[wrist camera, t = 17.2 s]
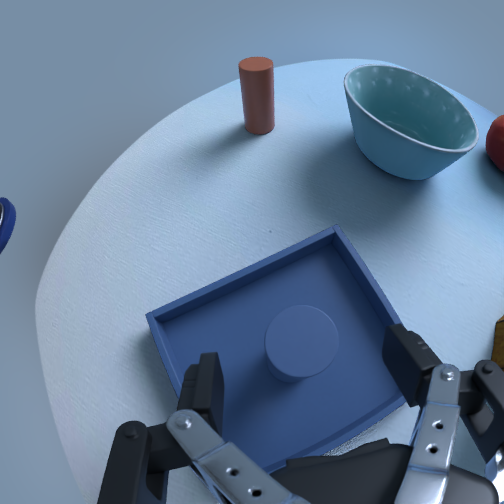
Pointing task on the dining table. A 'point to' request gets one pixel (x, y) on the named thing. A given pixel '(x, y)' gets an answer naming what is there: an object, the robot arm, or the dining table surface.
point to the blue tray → (254, 357)
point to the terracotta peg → (257, 94)
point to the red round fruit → (496, 142)
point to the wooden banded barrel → (499, 344)
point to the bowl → (407, 121)
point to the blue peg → (300, 343)
